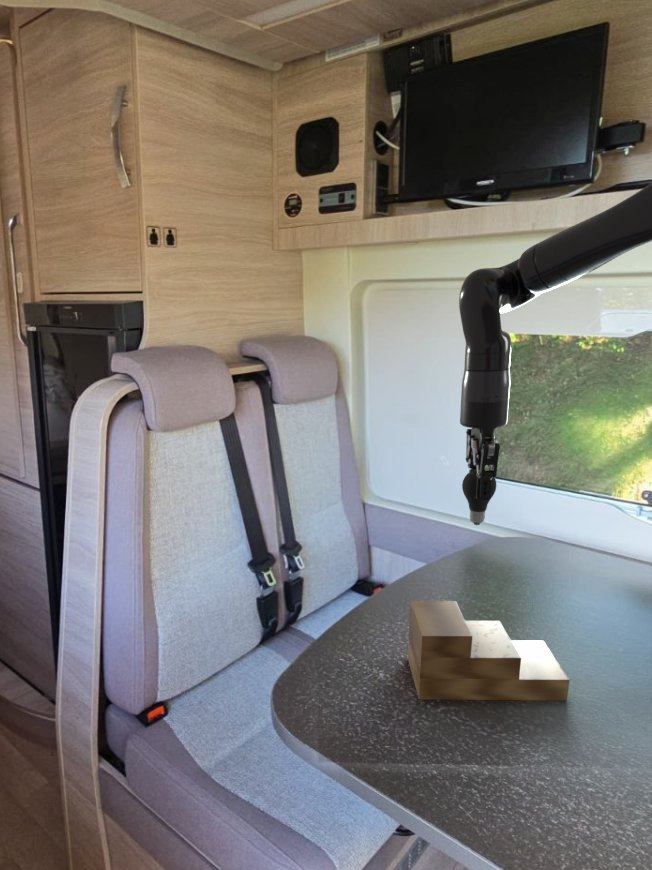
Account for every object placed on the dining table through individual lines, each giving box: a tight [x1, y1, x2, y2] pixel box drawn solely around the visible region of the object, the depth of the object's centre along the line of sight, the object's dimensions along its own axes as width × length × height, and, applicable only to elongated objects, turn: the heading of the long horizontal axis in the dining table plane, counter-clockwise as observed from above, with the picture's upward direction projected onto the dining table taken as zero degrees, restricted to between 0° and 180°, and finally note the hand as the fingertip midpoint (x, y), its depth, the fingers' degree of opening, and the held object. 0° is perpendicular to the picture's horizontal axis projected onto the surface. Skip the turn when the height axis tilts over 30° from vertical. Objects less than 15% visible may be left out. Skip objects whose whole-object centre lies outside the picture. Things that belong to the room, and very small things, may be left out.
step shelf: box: [407, 600, 570, 702], centre depth 109 cm, size 21×12×10 cm, turn 85°
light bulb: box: [461, 469, 497, 526], centre depth 125 cm, size 6×6×10 cm
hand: (478, 494), depth 125 cm, fingers closed on light bulb, 5 cm apart
